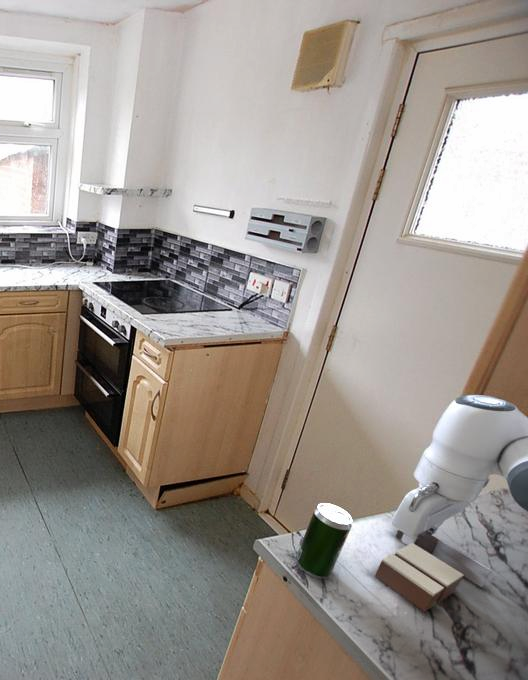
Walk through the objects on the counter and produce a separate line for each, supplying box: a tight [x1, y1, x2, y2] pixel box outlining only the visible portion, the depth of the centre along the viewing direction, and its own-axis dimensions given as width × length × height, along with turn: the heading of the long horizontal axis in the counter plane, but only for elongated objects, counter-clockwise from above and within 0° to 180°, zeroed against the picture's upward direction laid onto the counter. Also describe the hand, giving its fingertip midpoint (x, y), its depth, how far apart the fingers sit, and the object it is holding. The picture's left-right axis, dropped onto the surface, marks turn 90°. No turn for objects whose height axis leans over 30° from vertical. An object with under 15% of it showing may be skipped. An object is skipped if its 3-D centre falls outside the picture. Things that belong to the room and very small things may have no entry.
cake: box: [394, 543, 464, 604], centre depth 79 cm, size 8×6×4 cm
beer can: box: [296, 502, 353, 580], centre depth 79 cm, size 5×5×12 cm
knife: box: [395, 529, 493, 588], centre depth 84 cm, size 13×2×4 cm, turn 26°
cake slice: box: [374, 553, 444, 613], centre depth 77 cm, size 8×3×4 cm, turn 26°
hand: (417, 537), depth 88 cm, fingers open, 6 cm apart
